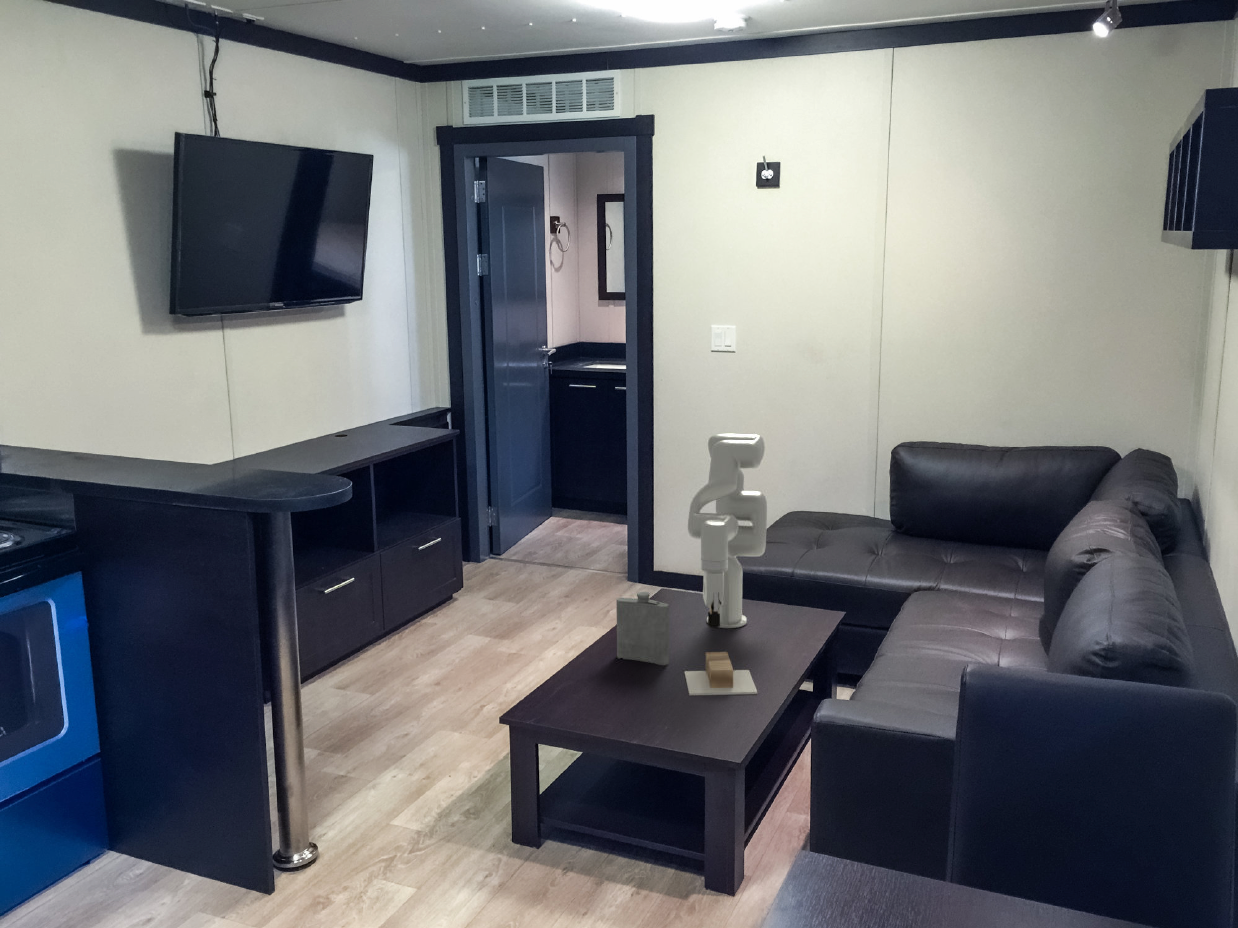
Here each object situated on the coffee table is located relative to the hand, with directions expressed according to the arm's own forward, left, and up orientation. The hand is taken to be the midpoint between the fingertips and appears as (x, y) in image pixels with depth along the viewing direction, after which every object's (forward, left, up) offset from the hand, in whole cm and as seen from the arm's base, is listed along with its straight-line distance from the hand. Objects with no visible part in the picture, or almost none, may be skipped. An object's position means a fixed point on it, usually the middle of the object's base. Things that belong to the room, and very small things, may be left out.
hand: (713, 625), depth 300 cm
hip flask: (-3, -20, -11) cm, 23 cm away
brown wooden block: (+7, 0, -8) cm, 10 cm away
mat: (+16, 0, -11) cm, 19 cm away
